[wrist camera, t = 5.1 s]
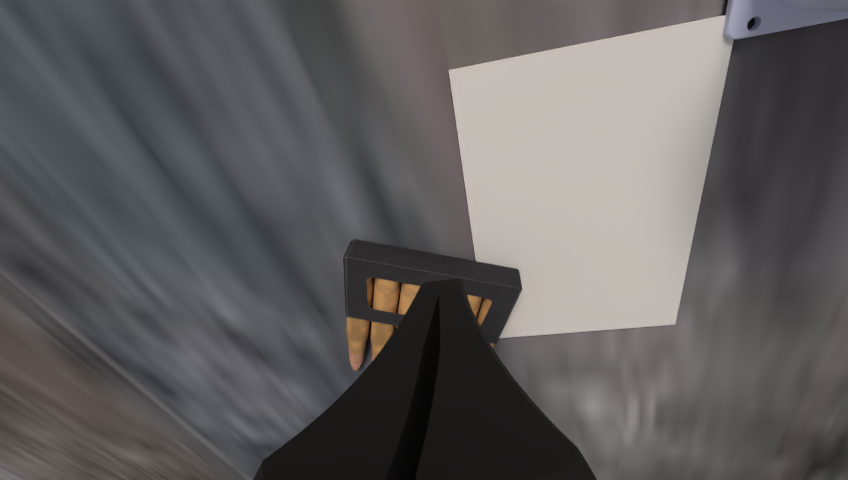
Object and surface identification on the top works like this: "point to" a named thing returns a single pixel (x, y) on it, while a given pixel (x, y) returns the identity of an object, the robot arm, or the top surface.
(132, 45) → the top surface
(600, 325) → the mat
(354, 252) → the ammunition clip
